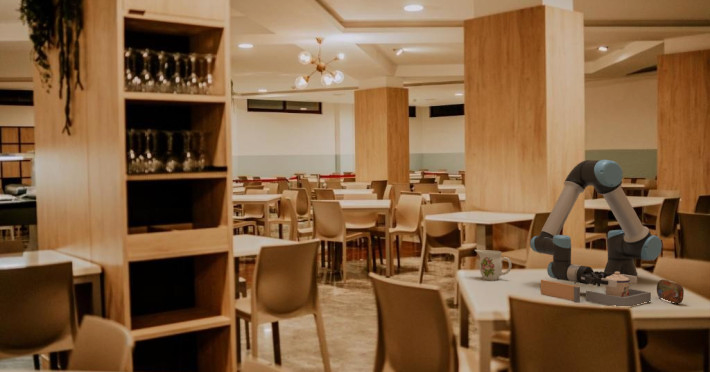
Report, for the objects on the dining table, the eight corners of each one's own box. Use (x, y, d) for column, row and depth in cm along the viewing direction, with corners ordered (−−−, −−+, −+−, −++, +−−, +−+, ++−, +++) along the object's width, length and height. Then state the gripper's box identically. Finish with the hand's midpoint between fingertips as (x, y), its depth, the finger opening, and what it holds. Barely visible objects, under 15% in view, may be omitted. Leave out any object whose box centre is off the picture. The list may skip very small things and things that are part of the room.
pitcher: (508, 282, 298) (508, 253, 297) (471, 279, 306) (471, 251, 306) (514, 278, 307) (514, 250, 307) (478, 275, 316) (478, 248, 315)
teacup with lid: (626, 304, 247) (626, 274, 247) (602, 301, 253) (602, 272, 252) (634, 299, 257) (634, 270, 256) (610, 296, 262) (610, 268, 262)
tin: (655, 297, 261) (656, 277, 261) (663, 297, 262) (663, 277, 261) (677, 306, 246) (677, 284, 246) (685, 305, 247) (685, 284, 246)
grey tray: (608, 294, 269) (608, 280, 269) (650, 302, 253) (650, 287, 253) (573, 301, 256) (573, 287, 256) (615, 310, 240) (615, 294, 240)
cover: (540, 293, 272) (540, 279, 272) (542, 293, 273) (542, 279, 272) (578, 301, 256) (578, 286, 256) (580, 301, 257) (580, 286, 257)
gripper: (598, 279, 277) (644, 287, 259) (562, 286, 263) (607, 295, 245) (598, 262, 276) (644, 269, 259) (562, 268, 262) (607, 276, 245)
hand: (626, 281), depth 252 cm, fingers open, 13 cm apart
